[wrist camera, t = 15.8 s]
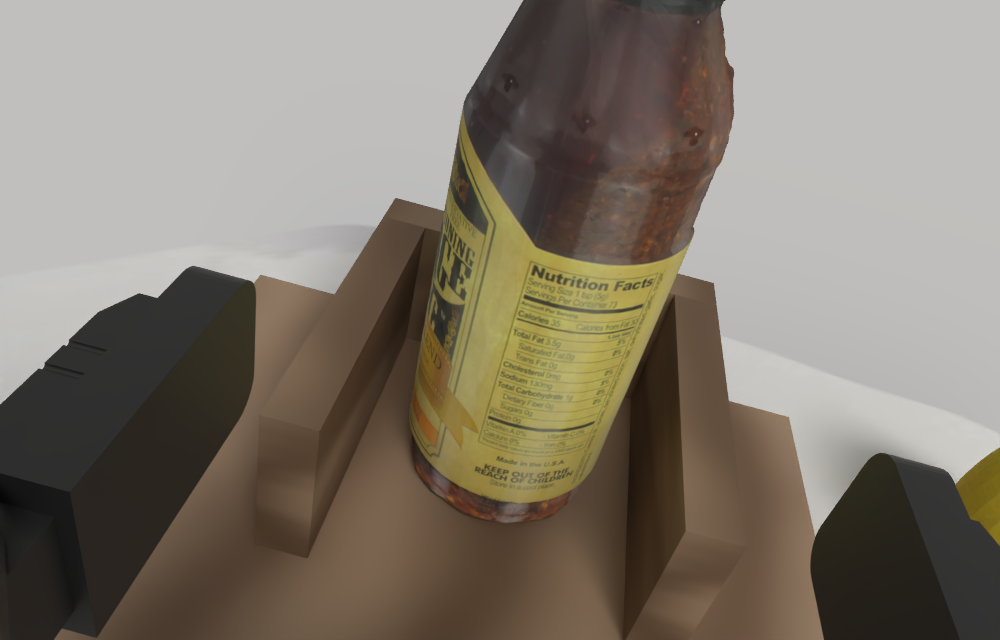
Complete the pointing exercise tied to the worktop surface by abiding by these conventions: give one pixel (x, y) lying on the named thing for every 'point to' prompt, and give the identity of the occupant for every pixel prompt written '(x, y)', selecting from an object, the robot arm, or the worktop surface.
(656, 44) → the sauce bottle
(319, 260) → the worktop surface
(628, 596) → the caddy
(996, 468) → the lemon
